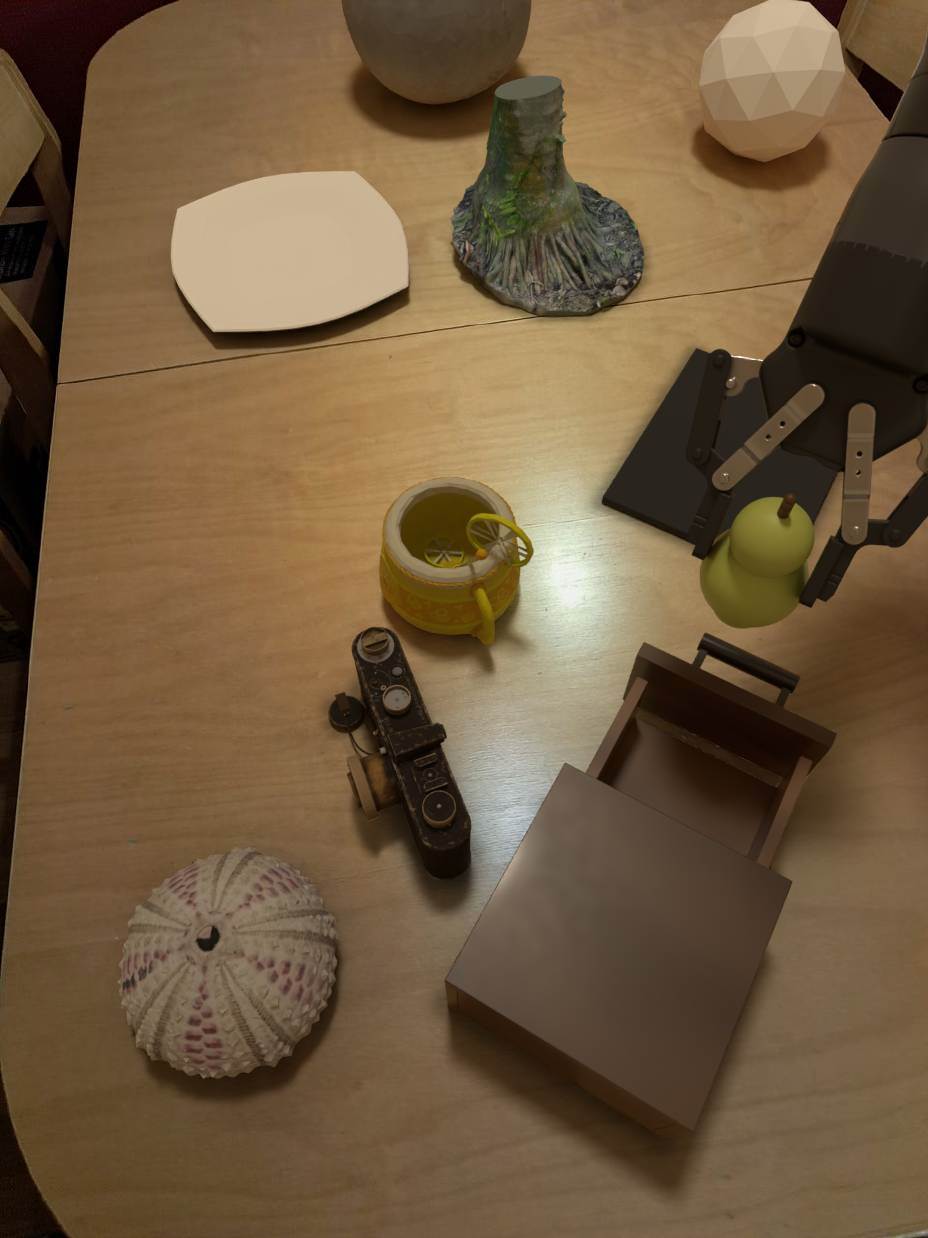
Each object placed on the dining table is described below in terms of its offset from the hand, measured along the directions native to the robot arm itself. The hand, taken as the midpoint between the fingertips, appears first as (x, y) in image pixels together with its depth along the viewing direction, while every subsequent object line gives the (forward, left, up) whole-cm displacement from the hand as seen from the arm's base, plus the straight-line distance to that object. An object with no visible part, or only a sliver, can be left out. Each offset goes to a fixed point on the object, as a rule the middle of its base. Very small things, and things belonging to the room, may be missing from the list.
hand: (752, 578), depth 50 cm
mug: (+20, -2, -20) cm, 29 cm away
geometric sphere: (+21, -69, -20) cm, 75 cm away
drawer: (-2, +4, -19) cm, 20 cm away
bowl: (+57, -62, -20) cm, 87 cm away
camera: (+16, +13, -20) cm, 29 cm away
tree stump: (+33, -42, -20) cm, 57 cm away
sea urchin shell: (+18, +29, -20) cm, 40 cm away
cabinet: (-2, +17, -20) cm, 27 cm away
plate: (+54, -28, -20) cm, 64 cm away
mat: (+6, -26, -20) cm, 34 cm away
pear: (0, -1, -5) cm, 5 cm away
